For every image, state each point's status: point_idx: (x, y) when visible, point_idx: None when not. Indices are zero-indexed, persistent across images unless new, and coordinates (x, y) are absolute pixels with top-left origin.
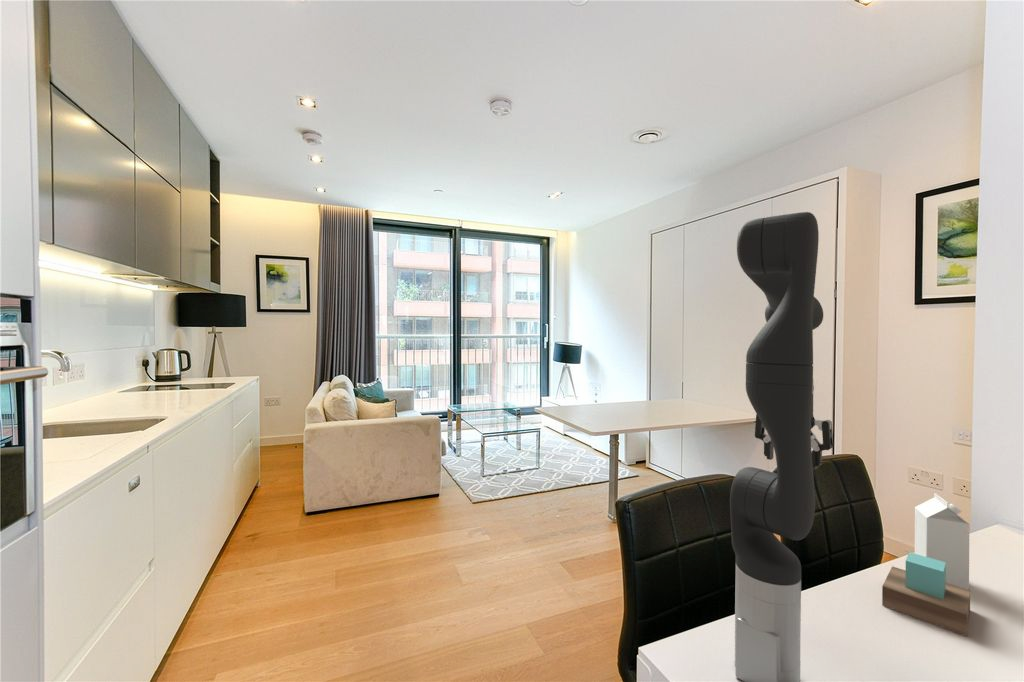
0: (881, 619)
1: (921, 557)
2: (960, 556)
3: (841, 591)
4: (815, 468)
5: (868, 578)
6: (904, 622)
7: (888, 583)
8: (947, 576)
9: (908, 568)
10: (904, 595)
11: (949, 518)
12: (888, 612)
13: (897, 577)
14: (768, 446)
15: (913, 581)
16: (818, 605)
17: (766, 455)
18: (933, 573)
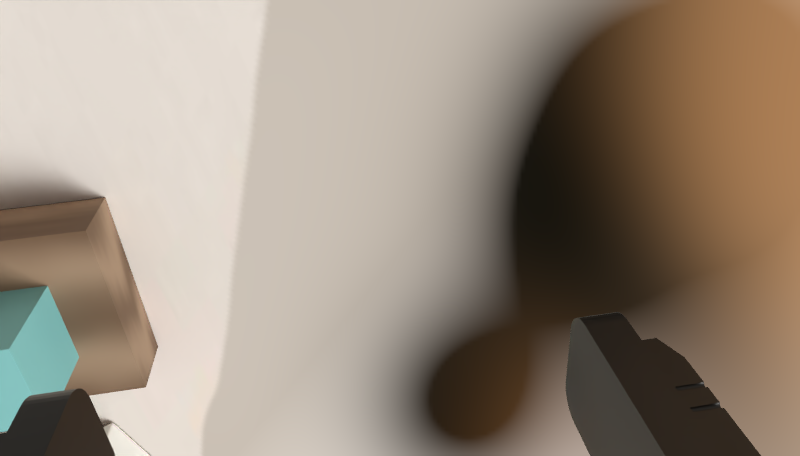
0: (58, 104)
1: (3, 416)
2: None
3: (215, 177)
4: (34, 396)
5: (210, 325)
6: (17, 148)
7: (86, 265)
8: None
9: (11, 331)
10: (24, 234)
11: None
12: (72, 169)
13: (96, 329)
14: (691, 453)
15: (14, 306)
16: (210, 7)
17: (642, 348)
18: None
